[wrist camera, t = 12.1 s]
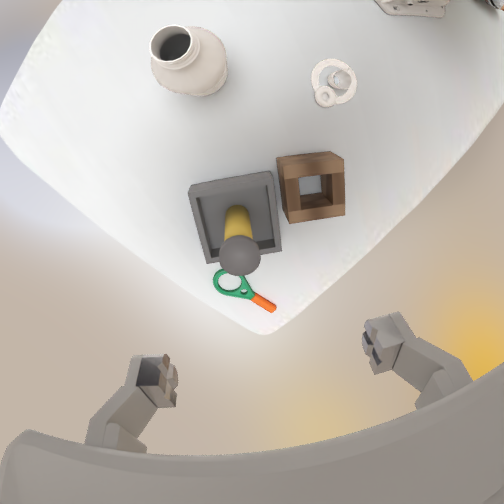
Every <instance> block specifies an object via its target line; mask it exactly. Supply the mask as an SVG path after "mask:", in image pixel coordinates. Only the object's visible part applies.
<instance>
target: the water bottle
mask: <svg viewBox="0 0 504 504" xmlns="http://www.w3.org/2000/svg"><path fill="white" fill-rule="evenodd" d="M149 49H150V53H151V55H152V57H151V69H152V72H153V75H154V77H155V79H156V80H157V81H158V82H159V84H160V85H162V86H163V87H164V88H166V89H167V90H169V91H172V92H175V93H180V94H187V95H194V96H207V95H210V94H213V93H215V92H216V91H218V90H219V89H220V88H221V87H222V86H223V84H224V83H225V81H226V78H227V74H228V70H227V59H226V50H225V48H224V45H223V43H222V42H221V40H220V39H219V38H218V37H217V36H216V35H215V34H214V33H212V32H211V31H209V30H207V29H204V28H201V27H183V26H179V25H168V26H166V27H163V28H161V29H159V30H158V31H157V32H156V33H155V34H154V35H153V37H152V39H151V41H150V45H149Z"/></svg>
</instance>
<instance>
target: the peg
mask: <svg viewBox="0 0 504 504" xmlns="http://www.w3.org/2000/svg"><path fill="white" fill-rule="evenodd" d="M260 259H261V257H260V251H259V247H258V245H257V243H256V242H255V241H254V240H253V236H252V230H251V224H250V217H249V212H248V210H247V209H246V208H245V207H244V206H241V205H233V206H231V207H229V208H228V209H227V211H226V214H225V238H224V242H223V244H222V245H221V247H220V252H219V262H220V265H221V267H222V268H223V269H224V270H225V271H226V272H227V273H229V274H231V275H235V276H244V275H248V274H250V273H252V272H253V271H255V270H256V269H257V267H258V266H259V264H260Z"/></svg>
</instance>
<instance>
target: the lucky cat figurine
mask: <svg viewBox="0 0 504 504" xmlns="http://www.w3.org/2000/svg"><path fill="white" fill-rule="evenodd" d="M485 1H486V3H488V4H489V5H491V6H492V7H494V8H496V9H501V10H503V11H504V0H485Z"/></svg>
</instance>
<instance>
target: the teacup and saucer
mask: <svg viewBox="0 0 504 504" xmlns="http://www.w3.org/2000/svg"><path fill="white" fill-rule="evenodd" d="M328 66H337V67H339V68H341V69H343V70H338V71H335V72H333V73H331V74H330V75H329V77H328V83H329V84H330V86H332V87H334V88H337V89H347V88H349V89H348V91H347V92H346V93H345V94H343V95H342V96H338V97H337V96H336V93H335V91H334V90H333V89H332V88H330V87H329V86H320V84H319V75H320V72H321V71H322V70H323V69H324V68H326V67H328ZM334 76H336V77H338V79H339V83H338V84H337V85H336V84H335V83H334ZM311 83H312V87H313V89H314V91H315V99H316V101H317V103H318V104H319V105H321V106H323V107H331V106H333V105H334V104H342V103H345V102H347V101H349V100H350V99H351V98H352V97H353V96H354V94H355V92H356V89H357V79H356V76H355V73H354V72H353V70H352V69H351V68H350V66H349V65H347V64H346V63H345V62H343V61H341V60H338V59H325V60H322V61H321V62H319V63H318V64H317V65H316V66H315V67H314V69H313V71H312V74H311ZM326 93H327V94H326Z"/></svg>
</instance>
